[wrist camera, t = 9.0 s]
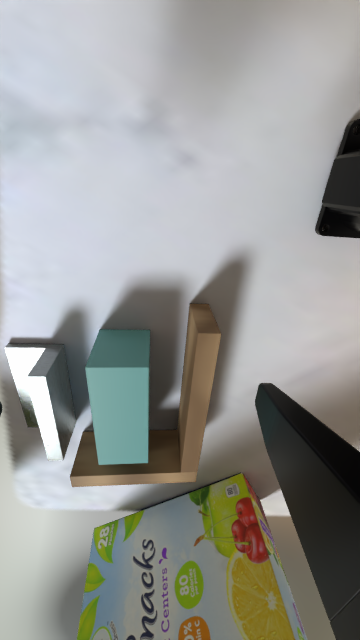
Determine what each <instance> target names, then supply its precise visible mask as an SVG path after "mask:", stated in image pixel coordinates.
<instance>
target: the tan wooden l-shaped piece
mask: <svg viewBox="0 0 360 640" xmlns="http://www.w3.org/2000/svg"><path fill="white" fill-rule="evenodd" d="M220 338H221V332H220V330H219V327H218V325H217V323H216V320H215V318H214V316H213V313H212V311H211V309H210V306H209V304H190V306H189V316H188V326H187V336H186V346H185V356H184V366H183V376H182V386H181V396H180V406H179V416H178V426H177V430H149V446H148V463H134V464H108V465H99V463H98V456H97V449H96V442H95V434H94V432H83V434H82V437H81V441H80V444H79V447H78V451H77V454H76V458H75V461H74V465H73V468H72V471H71V475H70V479H71V484H72V487H83V486H107V485H131V484H155V483H179V482H196V477H197V471H198V465H199V459H200V454H201V448H202V442H203V436H204V431H205V425H206V419H207V413H208V408H209V402H210V396H211V390H212V384H213V379H214V373H215V367H216V361H217V356H218V350H219V344H220Z"/></svg>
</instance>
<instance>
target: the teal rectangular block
mask: <svg viewBox="0 0 360 640" xmlns="http://www.w3.org/2000/svg"><path fill="white" fill-rule="evenodd" d="M85 370H86V377H87V384H88V391H89V399H90V406H91V413H92V420H93V427H94V434H95V442H96V449H97V456H98V463H99V465H108V464H134V463H148V446H149V403H150V330H115V329H100V330H99V333H98V335H97V338H96V341H95V343H94V346H93V349H92V351H91V354H90V356H89V359H88V362H87V364H86V367H85Z"/></svg>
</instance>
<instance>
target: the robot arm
mask: <svg viewBox="0 0 360 640" xmlns="http://www.w3.org/2000/svg"><path fill="white" fill-rule="evenodd" d="M355 126H356V127H357V132H356V134H354V133H353V129H354V127H355ZM324 225H326V228H325V230H323V231H322V227H323V226H324ZM315 231H316V233H317V234H319V235H322V236H334V237H349V238H360V119H358V120H354V121H352V122H350V123H349V124H348V125H347V127H346V129H345V132H344V135H343V139H342V142H341V145H340V148H339V152H338V155H337V158H336V159H335V160H334V163H333V166H332V170H331V173H330V176H329V179H328V183H327V186H326V189H325V193H324V196H323V199H322V208H321V211H320V214H319V217H318V221H317V224H316V228H315ZM255 406H256V410H257V414H258V418H259V422H260V426H261V430H262V434H263V438H264V442H265V446H266V449H267V452H268V455H269V458H270V460H271V463H272V466H273V468H274V471H275V474H276V477H277V479H278V482H279V485H280V488H281V490H282V493H283V496H284V498H285V501H286V504H287V507H288V509H289V512H290V515H291V517H292V520H293V523H294V526H295V528H296V531H297V534H298V537H299V539H300V542H301V545H302V547H303V550H304V553H305V556H306V558H307V561H308V564H309V567H310V569H311V572H312V575H313V577H314V580H315V583H316V586H317V588H318V591H319V594H320V597H321V599H322V602H323V605H324V607H325V610H326V613H327V616H328V618H329V620H330V621H331V622H330V624H331V627H332V630H333V632H334V635H335V638H336V640H360V452H359V451H358V450H357V449H355V448H354V447H353V446H352V445H350V444H349V443H348V442H346V441H345V440H344V439H343V438H341V437H340V436H339V435H337V434H336V433H335V432H334V431H332V430H331V429H330V428H329V427H327V426H326V425H325V424H323V423H322V422H321V421H320V420H318V419H317V418H316V417H314V416H313V415H312V414H311V413H309V412H308V411H307V410H305V409H304V408H303V407H302V406H300V405H299V404H298V403H297V402H295V401H294V400H293V399H291V398H290V397H289V396H288V395H286V394H285V393H284V392H282V391H281V390H280V389H279V388H277V387H276V386H275V385H273V384H272V383H261V384H260V385H259V387H258V391H257V395H256V399H255ZM1 413H2V404H1V402H0V415H1Z"/></svg>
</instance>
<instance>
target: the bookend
mask: <svg viewBox="0 0 360 640" xmlns="http://www.w3.org/2000/svg"><path fill="white" fill-rule="evenodd" d="M5 351H6V354H7V358H8V361H9V364H10V368H11V371H12V375H13V378H14V381H15V385H16V388H17V392H18V395H19V398H20V402H21V405H22V409H23V412H24V415H25V419H26V422H27V425H28V427H39V428H40V431H41V435H42V439H43V443H44V447H45V450H46V454H47V458H48V461H59V460H64V457H65V454H66V451H67V448H68V445H69V442H70V439H71V436H72V433H73V430H74V427H75V424H76V417H75V411H74V405H73V399H72V393H71V387H70V381H69V375H68V369H67V363H66V356H65V350H64V344H15V343H8V344H7V346H6V347H5Z"/></svg>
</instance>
